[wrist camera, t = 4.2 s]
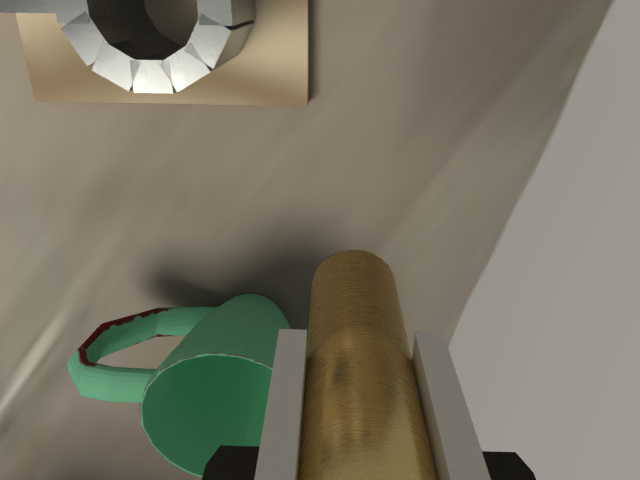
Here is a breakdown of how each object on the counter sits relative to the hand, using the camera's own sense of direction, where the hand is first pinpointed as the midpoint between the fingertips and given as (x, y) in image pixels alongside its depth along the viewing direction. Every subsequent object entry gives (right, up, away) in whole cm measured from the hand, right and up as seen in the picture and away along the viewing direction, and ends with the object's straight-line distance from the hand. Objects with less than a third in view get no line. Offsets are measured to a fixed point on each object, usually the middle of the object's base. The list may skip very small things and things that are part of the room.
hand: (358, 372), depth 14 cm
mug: (-8, -2, +23) cm, 25 cm away
